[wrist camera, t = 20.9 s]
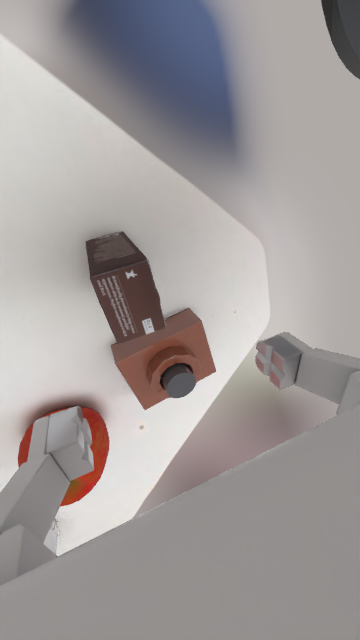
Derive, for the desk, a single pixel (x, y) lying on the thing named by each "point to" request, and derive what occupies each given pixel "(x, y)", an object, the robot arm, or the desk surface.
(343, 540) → the robot arm
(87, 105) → the desk surface
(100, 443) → the apple
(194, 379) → the grey push button
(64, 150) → the desk surface
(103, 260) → the box
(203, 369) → the brown button mount
